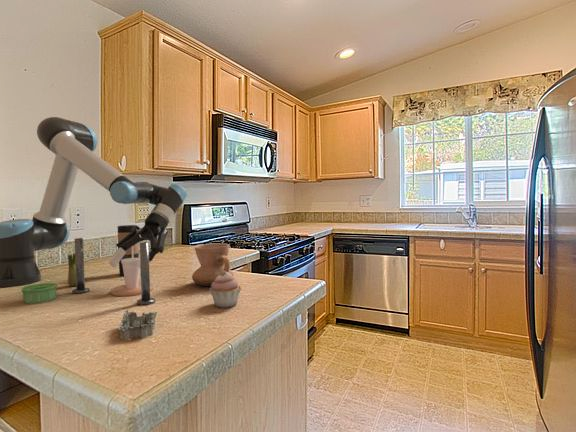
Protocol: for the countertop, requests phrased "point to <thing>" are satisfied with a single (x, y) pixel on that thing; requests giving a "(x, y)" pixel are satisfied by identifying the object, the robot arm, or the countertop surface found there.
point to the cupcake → (225, 290)
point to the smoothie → (131, 271)
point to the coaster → (127, 290)
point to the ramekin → (39, 293)
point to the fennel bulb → (72, 270)
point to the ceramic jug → (211, 263)
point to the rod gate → (143, 263)
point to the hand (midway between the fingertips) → (125, 266)
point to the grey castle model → (137, 325)
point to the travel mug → (122, 233)
